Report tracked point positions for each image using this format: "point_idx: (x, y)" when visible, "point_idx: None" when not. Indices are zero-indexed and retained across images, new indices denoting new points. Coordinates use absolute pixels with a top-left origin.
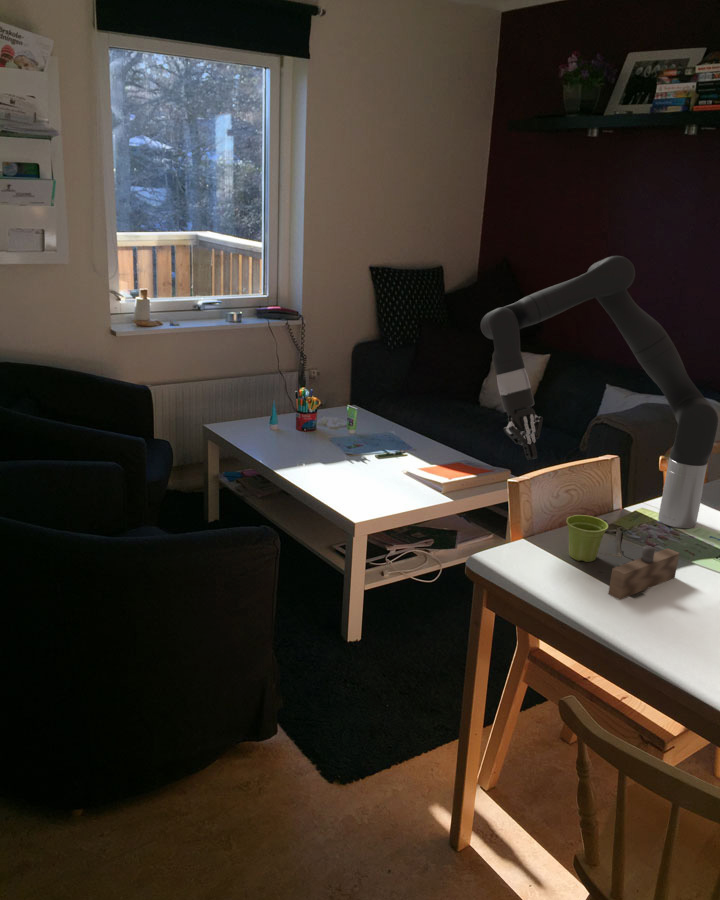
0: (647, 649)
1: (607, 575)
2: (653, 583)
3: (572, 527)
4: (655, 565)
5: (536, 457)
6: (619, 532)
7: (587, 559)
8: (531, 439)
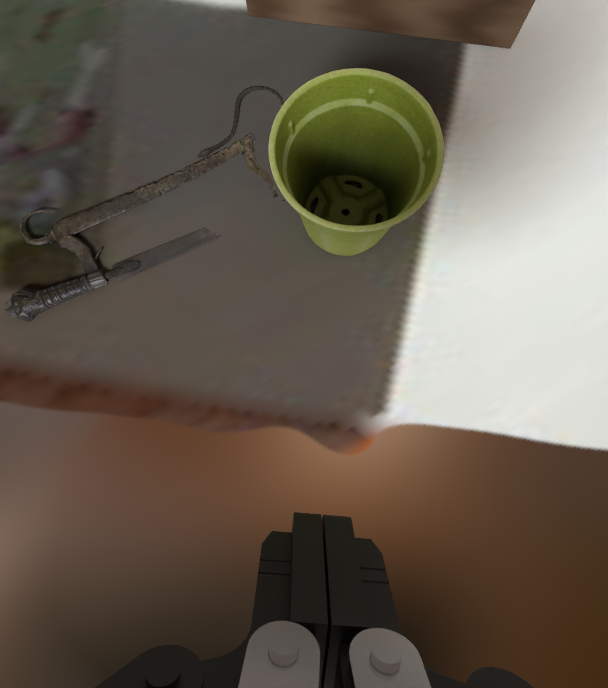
0: None
1: None
2: None
3: (441, 169)
4: None
5: (302, 513)
6: (72, 222)
7: (375, 178)
8: (316, 682)
